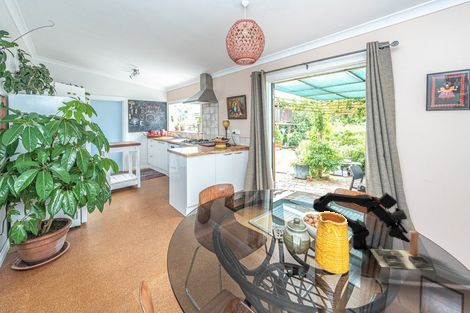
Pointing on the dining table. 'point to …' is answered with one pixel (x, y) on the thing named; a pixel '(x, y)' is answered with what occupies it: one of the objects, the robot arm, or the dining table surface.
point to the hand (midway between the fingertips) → (408, 237)
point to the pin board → (400, 259)
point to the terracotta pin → (413, 242)
